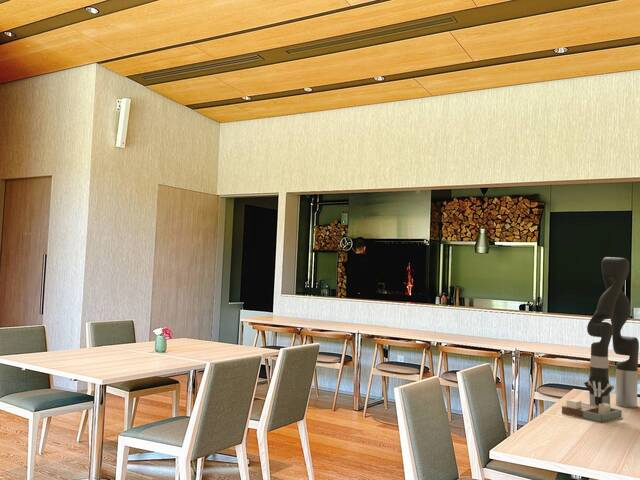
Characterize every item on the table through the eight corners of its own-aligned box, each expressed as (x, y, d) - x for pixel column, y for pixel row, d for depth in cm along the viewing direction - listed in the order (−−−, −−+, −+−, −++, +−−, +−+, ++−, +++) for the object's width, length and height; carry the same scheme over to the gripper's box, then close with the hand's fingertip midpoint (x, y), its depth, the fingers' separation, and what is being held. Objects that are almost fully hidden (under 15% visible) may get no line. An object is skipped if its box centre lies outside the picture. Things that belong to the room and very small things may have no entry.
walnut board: (580, 409, 277) (580, 402, 277) (601, 413, 270) (601, 406, 270) (561, 413, 267) (561, 406, 268) (583, 417, 260) (583, 410, 260)
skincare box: (610, 410, 276) (611, 376, 277) (595, 410, 276) (595, 375, 277) (602, 406, 285) (603, 373, 285) (587, 406, 285) (588, 372, 286)
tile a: (603, 402, 268) (610, 404, 266) (602, 412, 268) (609, 414, 266) (598, 404, 265) (605, 405, 263) (598, 414, 265) (604, 415, 263)
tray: (603, 413, 270) (603, 406, 270) (621, 417, 263) (621, 410, 264) (582, 418, 259) (583, 410, 259) (601, 422, 252) (601, 414, 252)
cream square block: (571, 405, 269) (571, 399, 270) (581, 407, 266) (581, 401, 266) (566, 406, 267) (566, 400, 267) (576, 409, 263) (576, 402, 263)
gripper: (618, 367, 266) (617, 407, 265) (589, 363, 276) (588, 401, 275) (610, 369, 261) (609, 409, 260) (580, 364, 271) (580, 403, 271)
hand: (598, 405), depth 268 cm, fingers closed
